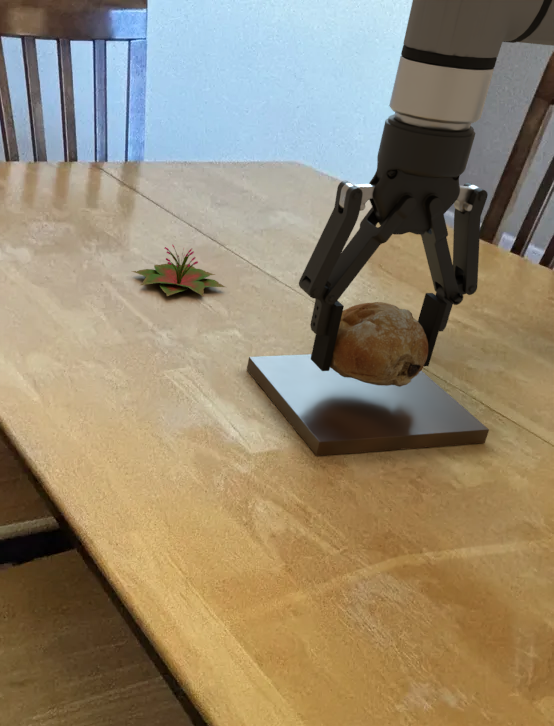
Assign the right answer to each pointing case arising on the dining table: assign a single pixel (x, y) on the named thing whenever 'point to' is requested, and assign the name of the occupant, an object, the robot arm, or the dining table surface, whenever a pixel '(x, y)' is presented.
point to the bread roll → (379, 345)
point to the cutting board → (362, 409)
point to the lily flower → (178, 276)
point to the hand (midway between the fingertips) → (369, 362)
